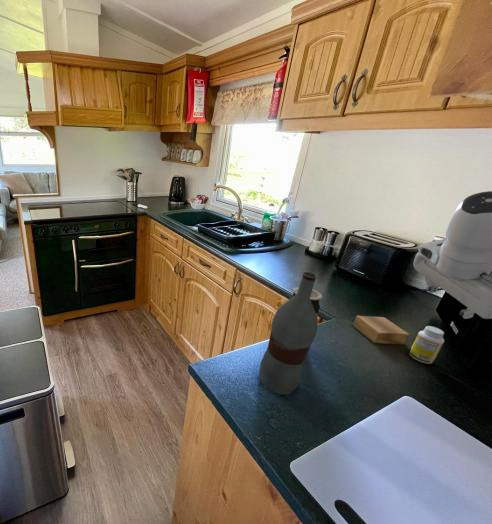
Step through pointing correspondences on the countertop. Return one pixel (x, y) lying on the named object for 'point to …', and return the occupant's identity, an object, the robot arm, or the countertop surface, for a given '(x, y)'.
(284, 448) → the countertop surface
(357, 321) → the oak block
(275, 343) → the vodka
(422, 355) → the supplement bottle
